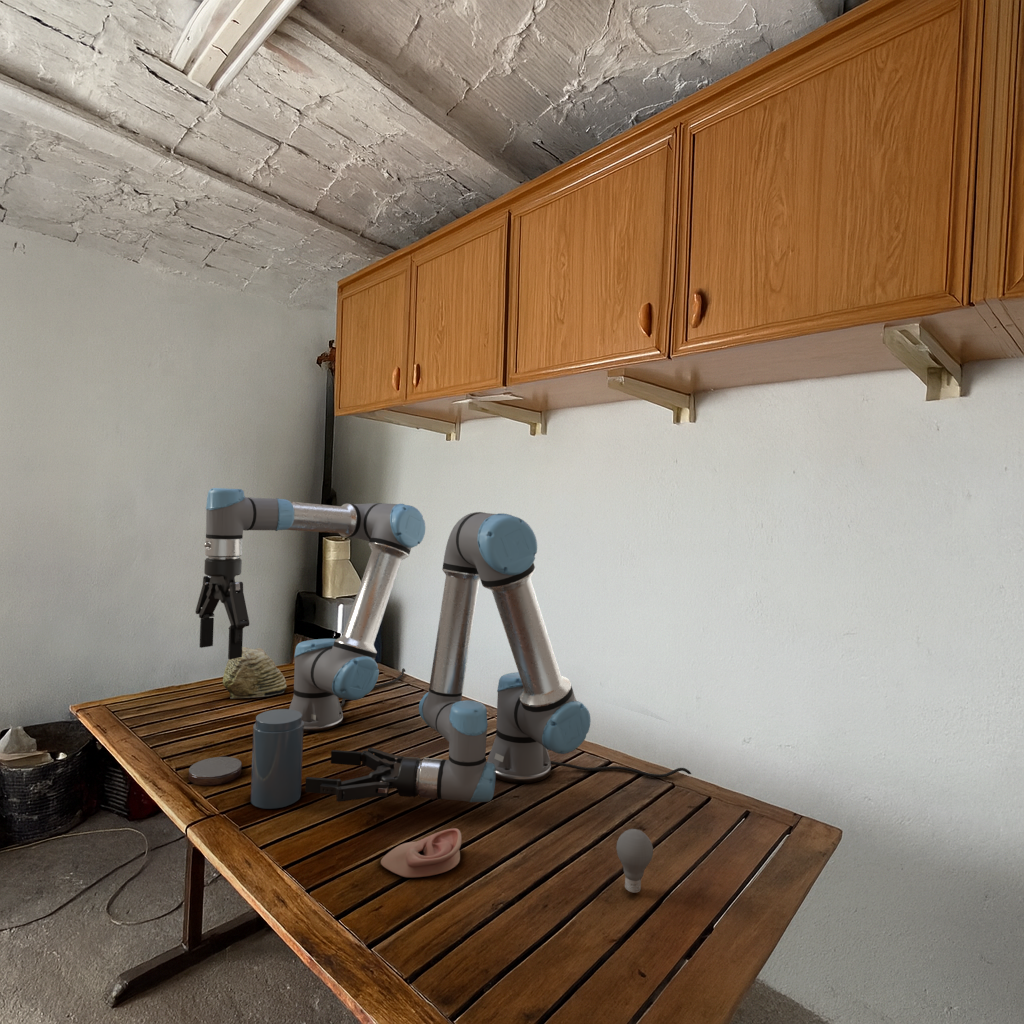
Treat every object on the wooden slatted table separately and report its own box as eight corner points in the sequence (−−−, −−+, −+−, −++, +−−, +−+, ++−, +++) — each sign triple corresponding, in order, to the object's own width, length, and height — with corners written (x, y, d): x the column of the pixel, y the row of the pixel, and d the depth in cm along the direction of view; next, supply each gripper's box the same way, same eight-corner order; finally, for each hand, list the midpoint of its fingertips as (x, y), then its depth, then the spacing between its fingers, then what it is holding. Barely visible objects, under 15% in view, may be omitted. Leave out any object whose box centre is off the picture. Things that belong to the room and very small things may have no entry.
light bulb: (610, 879, 108) (613, 822, 108) (644, 879, 109) (647, 822, 109) (619, 902, 102) (622, 840, 102) (655, 901, 103) (658, 840, 103)
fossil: (218, 695, 195) (220, 647, 195) (278, 685, 208) (279, 640, 207) (228, 703, 189) (230, 653, 188) (289, 692, 201) (290, 645, 201)
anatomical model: (374, 849, 108) (399, 816, 119) (373, 872, 108) (398, 837, 119) (448, 861, 105) (467, 826, 116) (447, 885, 105) (466, 848, 116)
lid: (192, 767, 145) (193, 758, 145) (243, 763, 149) (243, 754, 149) (184, 787, 135) (184, 779, 135) (239, 782, 138) (239, 774, 138)
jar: (308, 788, 137) (311, 709, 137) (289, 810, 127) (293, 725, 127) (263, 785, 138) (266, 706, 138) (241, 807, 128) (244, 722, 128)
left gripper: (181, 553, 146) (178, 644, 146) (234, 563, 130) (230, 666, 131) (214, 551, 152) (211, 639, 152) (268, 561, 136) (264, 660, 136)
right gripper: (403, 826, 118) (293, 817, 119) (432, 769, 142) (340, 762, 144) (405, 786, 117) (294, 778, 119) (433, 736, 142) (341, 730, 144)
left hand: (220, 652), depth 141 cm, fingers open, 13 cm apart
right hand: (319, 769), depth 132 cm, fingers open, 13 cm apart
